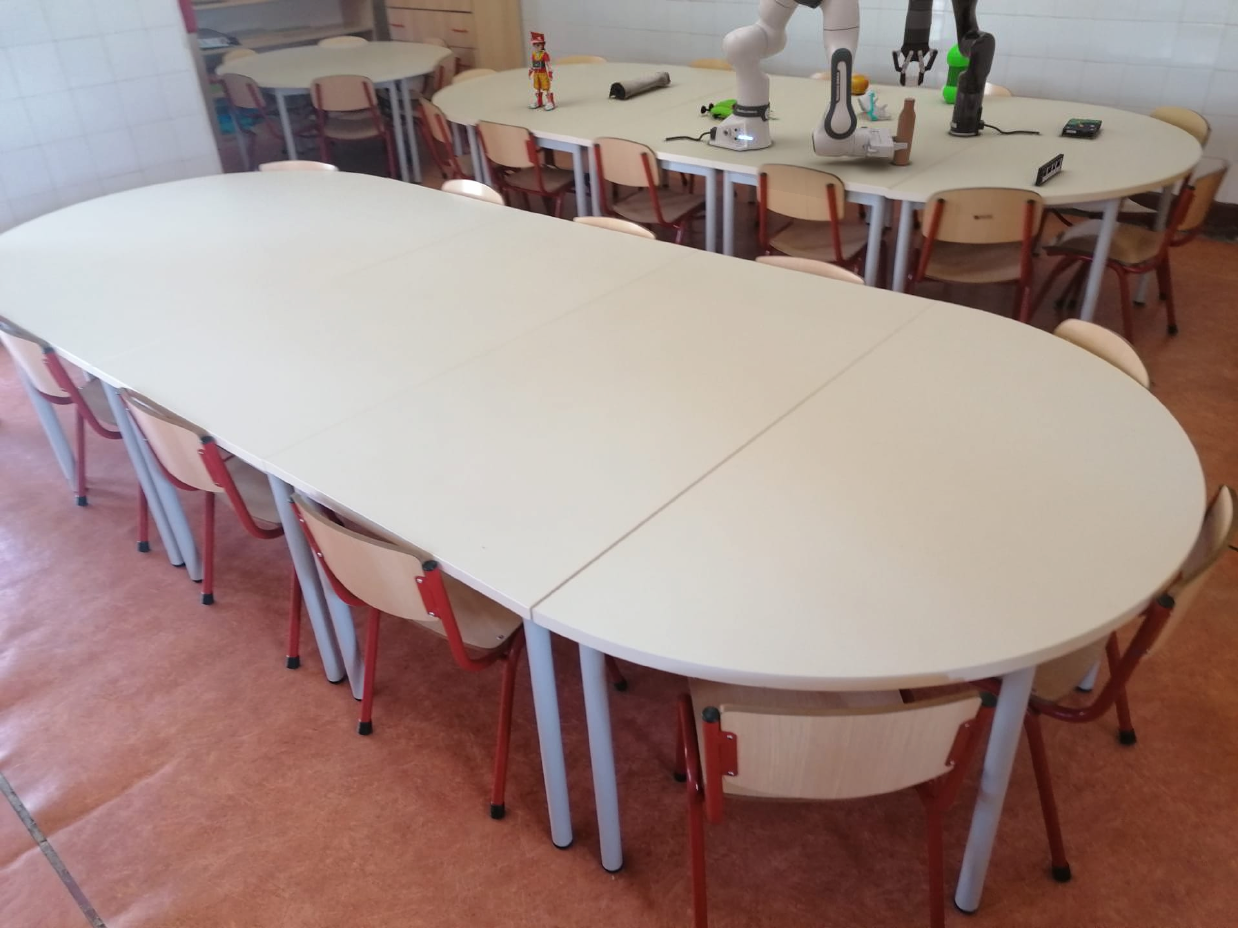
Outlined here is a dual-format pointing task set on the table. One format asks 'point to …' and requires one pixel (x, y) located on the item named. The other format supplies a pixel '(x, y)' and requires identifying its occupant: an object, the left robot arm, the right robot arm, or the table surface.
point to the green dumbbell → (954, 73)
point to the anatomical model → (872, 106)
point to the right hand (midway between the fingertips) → (910, 85)
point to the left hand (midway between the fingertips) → (906, 142)
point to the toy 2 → (721, 109)
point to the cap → (911, 81)
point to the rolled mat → (638, 84)
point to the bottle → (905, 132)
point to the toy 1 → (541, 71)
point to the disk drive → (1081, 128)
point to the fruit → (859, 84)
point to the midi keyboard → (1049, 169)
